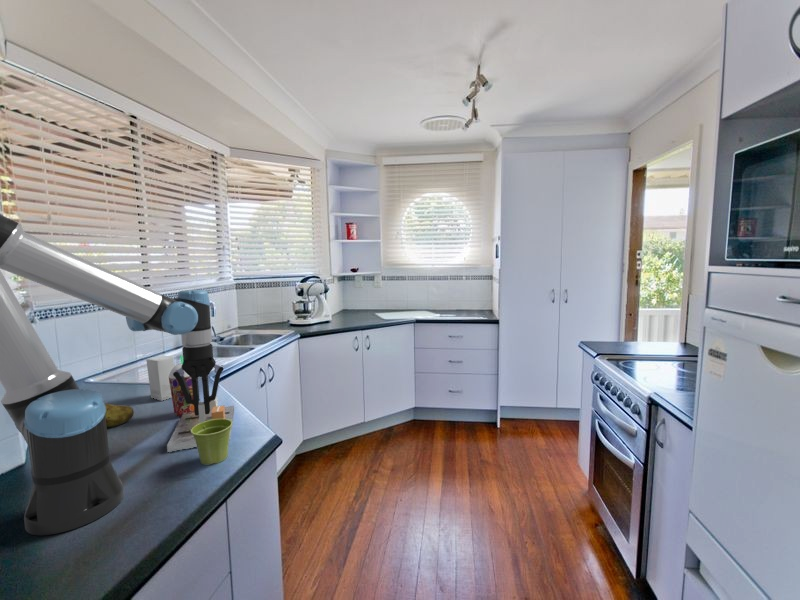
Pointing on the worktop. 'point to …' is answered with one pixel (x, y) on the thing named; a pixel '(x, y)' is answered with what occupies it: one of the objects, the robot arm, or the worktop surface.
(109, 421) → the potato
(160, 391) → the skincare box
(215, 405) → the fader far
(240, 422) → the worktop surface
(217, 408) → the fader near
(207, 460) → the plant pot
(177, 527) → the worktop surface
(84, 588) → the worktop surface
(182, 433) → the console
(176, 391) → the smoothie
